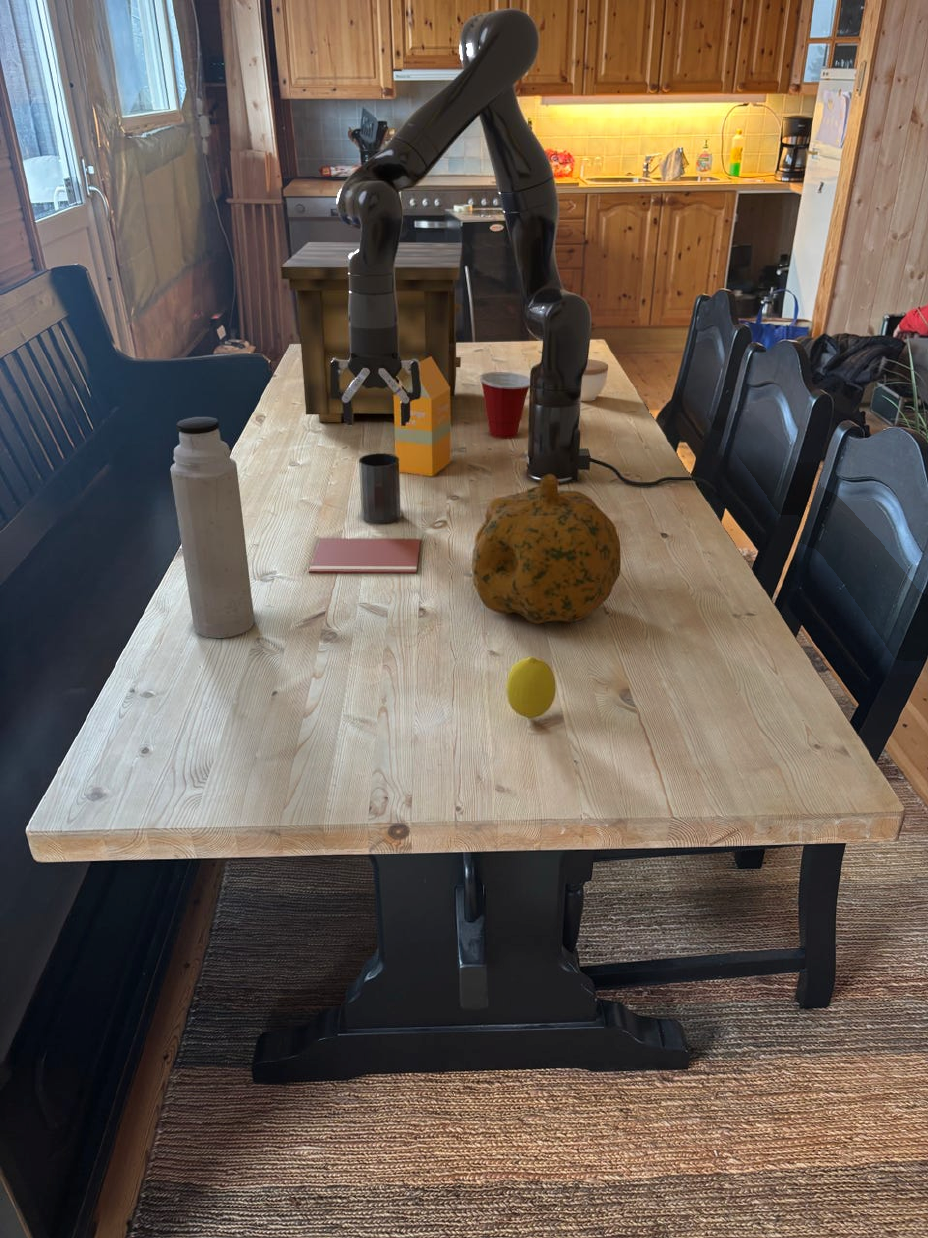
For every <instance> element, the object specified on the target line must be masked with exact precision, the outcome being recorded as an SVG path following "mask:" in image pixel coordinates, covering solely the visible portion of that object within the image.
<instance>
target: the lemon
mask: <svg viewBox="0 0 928 1238" xmlns="http://www.w3.org/2000/svg"><path fill="white" fill-rule="evenodd" d="M555 678H556V677H555V675H554V673H553V670H552V668H551V666H550V665H549V664H548V662H546V661H544V660H543V659H542V658H538V657H535V656H529V657H524V658H522V659H520V660H518V661H517V662H516V663H514V665H513V666H512V667H511V669H510V670H509V674H508V676H507V680H506V685H505V686H506V687H505V688H506V691H505V692H506V697H507V701H508V704H509V706H510V707H511V709H512V710H513V711H514V712H515V713H517V714H518V715H520V716H522V717H525V718H526V719H528V720H529V719H533V718H537V717H540V716H542V715H544V714H545V713H546V712H548V711H549V710H550V708H552V707H551V706H552V705H553V704H554V703H553V702H554V701H555V698H556V688H557V685H556V679H555Z"/></svg>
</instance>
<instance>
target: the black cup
mask: <svg viewBox="0 0 928 1238" xmlns="http://www.w3.org/2000/svg"><path fill="white" fill-rule="evenodd" d="M358 471H359V488H360V489H359V491H360V504H361V505H360V507H361V518H362V520H363V521H364V522H366V523H369V524H374V525H384V524H385V525H386V524H392V523H394V522H397V521H399V520H400V519H401V517H402V504H401V502H402V501H401V499H402V497H401V472H400V467H399V458H398V457H397V456H396V454H395V455H394V454H392V453H379V452H377V453H370V454H365V455H363V456H362V457H360V458H359V459H358Z"/></svg>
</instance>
